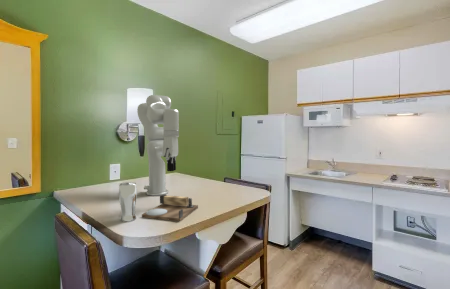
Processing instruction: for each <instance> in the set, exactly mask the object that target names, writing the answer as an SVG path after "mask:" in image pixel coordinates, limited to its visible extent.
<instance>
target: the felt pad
mask: <svg viewBox="0 0 450 289" xmlns="http://www.w3.org/2000/svg"><path fill="white" fill-rule="evenodd" d="M151 209H152V210H151ZM151 209H150V210H147V211H146V212H145V213H146V214H147V215H151V216H157V215H163V214H165V213H167V210H166V209H153V208H151Z"/></svg>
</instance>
